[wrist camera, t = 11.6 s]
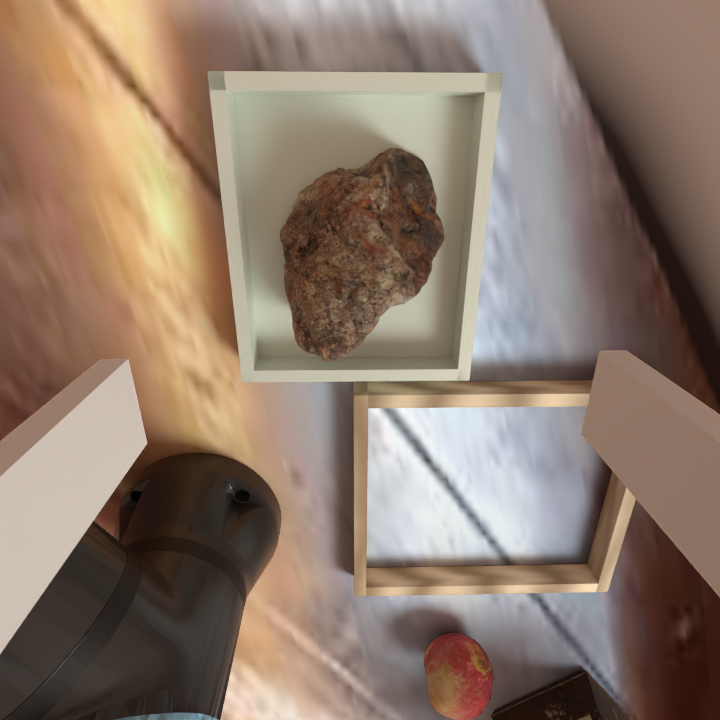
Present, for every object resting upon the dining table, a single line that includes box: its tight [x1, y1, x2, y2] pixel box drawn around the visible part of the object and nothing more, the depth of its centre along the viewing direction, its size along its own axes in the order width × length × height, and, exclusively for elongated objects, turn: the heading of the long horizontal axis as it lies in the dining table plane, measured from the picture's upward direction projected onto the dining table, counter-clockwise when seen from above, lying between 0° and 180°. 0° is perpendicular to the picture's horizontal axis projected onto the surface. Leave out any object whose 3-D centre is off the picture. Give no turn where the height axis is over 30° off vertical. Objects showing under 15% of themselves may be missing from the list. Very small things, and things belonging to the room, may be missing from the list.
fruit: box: [424, 633, 494, 720], centre depth 51 cm, size 8×8×8 cm
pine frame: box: [353, 380, 636, 596], centre depth 44 cm, size 26×23×2 cm
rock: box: [280, 148, 445, 362], centre depth 31 cm, size 14×9×10 cm
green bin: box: [207, 71, 503, 382], centre depth 34 cm, size 18×21×4 cm
